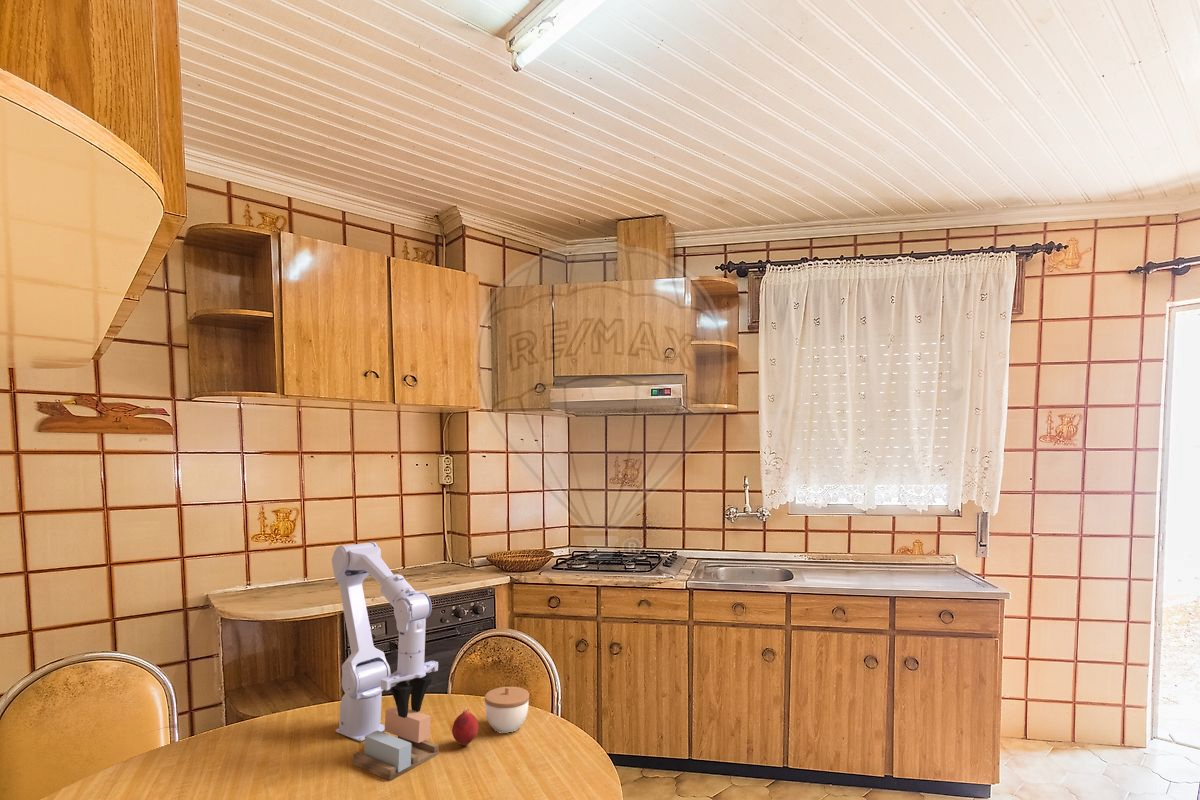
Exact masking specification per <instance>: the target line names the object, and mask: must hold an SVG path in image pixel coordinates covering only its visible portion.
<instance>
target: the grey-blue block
mask: <svg viewBox="0 0 1200 800" xmlns="http://www.w3.org/2000/svg"><path fill="white" fill-rule="evenodd" d="M411 744H412V743H410V742H407V741H405V740H402V739H399V738H398V736H397V737H396V736H393V735H392V734H390V733H387V732H384V731H383V732H381V731H378V730H377V731H375V732H372V733H370V734H368V735H366V736H365V740H364V745H363V746H364V748H363V749H364V751H363V754H364V755H367V756H369V757H371V758H374V759H376V760H378V761H381V762H383V763H386V764H388V765H390V766H393V767H395V768H396V772H400V771H402V770H404V769H406V768H407V767H409V766H411Z"/></svg>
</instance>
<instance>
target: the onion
mask: <svg viewBox="0 0 1200 800" xmlns="http://www.w3.org/2000/svg"><path fill="white" fill-rule="evenodd" d="M478 721H479V720H478V719H477V718H476V716H475V715H474V714H473V713H471V712H470V709H469V708H468V707H466V708H464V710H463V711H462V713H461V714H459V715H457V717H456V718H455V719H454V722H453V725H452V727H451V728H452V730H451V733H452V736H453V739H454V740H455V741H456V742H457V743H458V744H460V745H461V746H463V747H467V746H468V745H469V744H470V743H471V742H472V741H473V740H474V739H475V738H476V737H477V735H478V732H479V722H478Z"/></svg>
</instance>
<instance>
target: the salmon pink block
mask: <svg viewBox="0 0 1200 800" xmlns="http://www.w3.org/2000/svg"><path fill="white" fill-rule="evenodd" d="M431 721H432V716H431V715H428V714H427V713H426V714H425V713H422V712H420V711H419V712H417V711H414V710H412V709H410V708H408V714H407V717H405V718H403V717H400V716H398V711H397V706H396V705H395V706H392V707H389V708H386V709H385V716H384V725H385V730H384V731H383V732H385V733H388V734H390V735H395V736H397V737H398V736H400V737H403V738H405V739H408V740H411V741H414V742H416V743H420V742H422V741H424V740H428V739H430V737H431V723H432V722H431Z"/></svg>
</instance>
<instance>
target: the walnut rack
mask: <svg viewBox="0 0 1200 800" xmlns="http://www.w3.org/2000/svg"><path fill="white" fill-rule="evenodd" d="M397 738H399V739H402V740H405V741H407V742H410V743H412V744H411V766H409V767H407V768H406V769H404V770H402V771H400V772H396V768H395V767H393V766H390V765H388V764H386V763H383V762H381V761H378V760H376V759H374V758H371V757H369V756H367V755H364V753H361V752H360V751H358V752H356V753H354V754H353V760H352V765H353V766H355V765H356V766H355V767H357V766H358V768H359V767H360V769H362V770H363V771H366V772H369V773H371V774H373V775H376V776H378V777H380V778H382V779H385V780H387V781H389V782H391V781H393V780H395V779H396V778H398V777H400V776H402V775H404V774H405V773H407V772H409V771H410V770H413V769H414V768H416V767H418V766H420V765H422V764H423V763H425V762H428V761H430V760H431V759H432V758H434V757H437V756H438V755H439V753H440V751H439V743H438V744H437V743H435V742H432V741H430V740H428V739H426V740H424V741H422V742H420V743H416V742H414V741H411V740H408V739H405V738H403V737H400V736H397Z"/></svg>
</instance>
